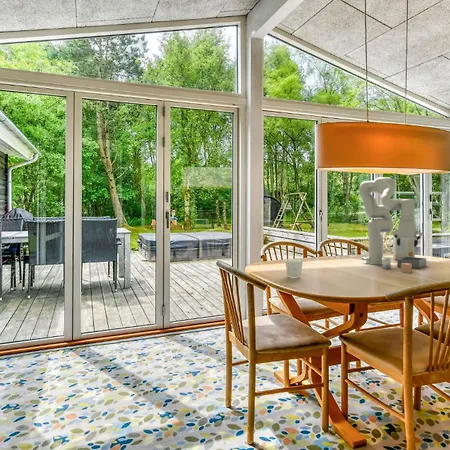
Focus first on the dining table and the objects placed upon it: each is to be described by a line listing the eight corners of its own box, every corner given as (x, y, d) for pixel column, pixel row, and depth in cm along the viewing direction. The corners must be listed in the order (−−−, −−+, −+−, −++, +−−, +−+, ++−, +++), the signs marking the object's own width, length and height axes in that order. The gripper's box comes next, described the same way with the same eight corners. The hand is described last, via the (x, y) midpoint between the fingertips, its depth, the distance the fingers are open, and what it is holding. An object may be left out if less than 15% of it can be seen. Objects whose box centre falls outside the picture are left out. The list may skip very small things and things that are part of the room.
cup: (285, 278, 217) (285, 261, 217) (285, 275, 227) (285, 259, 226) (303, 279, 216) (303, 262, 215) (301, 275, 226) (302, 259, 225)
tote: (419, 268, 245) (419, 261, 245) (397, 266, 254) (397, 259, 254) (426, 265, 258) (426, 258, 258) (405, 263, 267) (405, 256, 267)
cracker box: (411, 259, 288) (412, 231, 286) (414, 260, 282) (415, 232, 280) (392, 259, 289) (393, 231, 288) (395, 260, 283) (395, 232, 282)
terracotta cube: (409, 272, 233) (409, 264, 233) (400, 271, 236) (401, 263, 236) (411, 271, 237) (411, 263, 237) (403, 270, 240) (403, 262, 240)
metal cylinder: (383, 269, 246) (383, 258, 245) (381, 267, 250) (381, 257, 250) (391, 269, 245) (391, 258, 244) (389, 268, 249) (389, 257, 249)
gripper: (391, 218, 238) (390, 245, 239) (420, 219, 226) (420, 247, 227) (394, 218, 243) (394, 244, 244) (424, 218, 232) (423, 246, 233)
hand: (407, 246), depth 236 cm, fingers open, 9 cm apart
